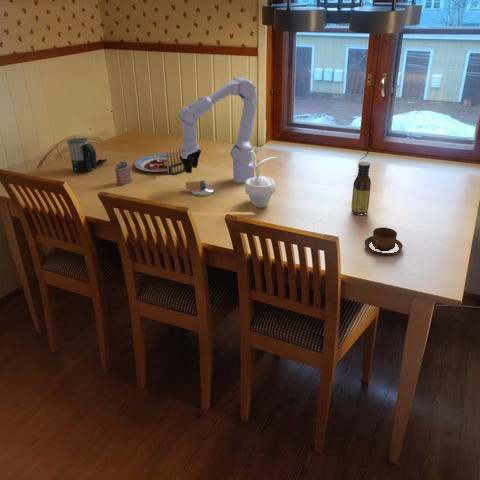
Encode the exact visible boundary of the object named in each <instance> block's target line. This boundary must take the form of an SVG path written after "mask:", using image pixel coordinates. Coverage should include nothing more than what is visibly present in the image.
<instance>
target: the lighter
mask: <svg viewBox="0 0 480 480" xmlns="http://www.w3.org/2000/svg"><path fill="white" fill-rule="evenodd" d="M115 167H116V168H114V172H115V176H116V177H115V178H116V186H117V187H123V186H126V185H128V184H130V183H131V182H133V180H132V175H131V166H130V164H129V163H128V161H127V160H123V161H122V160H121V161H120V162H118V163H116V164H115Z"/></svg>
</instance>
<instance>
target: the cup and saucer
mask: <svg viewBox="0 0 480 480" xmlns="http://www.w3.org/2000/svg"><path fill="white" fill-rule="evenodd" d="M397 235H398V232H397V231H396V230H394V229H392V228H388V227H385V226H384V227H383V226H382V227H381V226H380V227H377V228H374V229H373V232H372V235H371V236H369V237H367V238H366V239H365V240H364V246H365V248H367V249H368V250H369V251H370V252H372V253H375V254H377V255H383V256H392V255H395V254H398V253H399V252H401V251H402V250H403V248H404V247H403V244H402V242H401V241H400V240H398V239H397ZM371 242H372V244H373V246H374V247H375V249H378V250H380V251H389V250H391V249H393V248H394V247H395V243H396V244H397V245H398V247H399V250H398V251H397V252H394V253H382V252H377V251H374V250H372V249H371V248H370V247H369V244H370V243H371Z"/></svg>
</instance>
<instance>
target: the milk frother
mask: <svg viewBox="0 0 480 480" xmlns="http://www.w3.org/2000/svg"><path fill="white" fill-rule="evenodd" d="M66 143H67V146H68V149H69V151H68V152H69V155H70V161H71V166H72V172H73V173H74V174H86V173H89V172H92V171H93V169H96V168H97V167H99V166H101V165H103V164H105V163H106V162H107V161H108V159H107V158H105V159H100V158H99V159H98V160H97V153H96V148H95V146H93V145H92V144H90V143H88V138H87V137H75V138H74V137H73V138H70V139H68V140H66Z"/></svg>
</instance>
